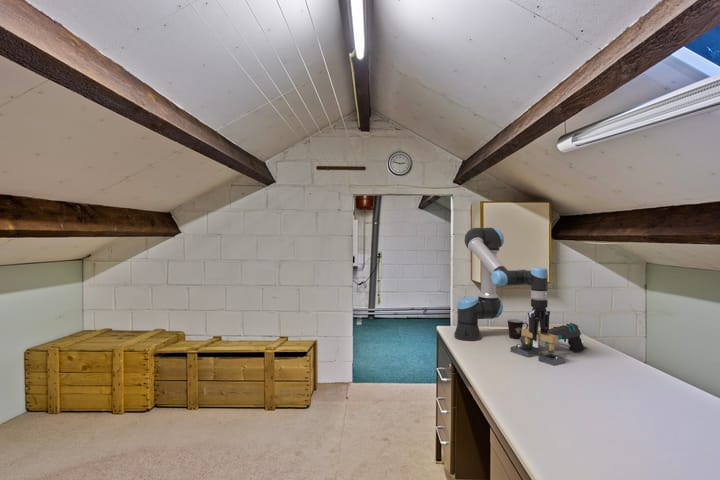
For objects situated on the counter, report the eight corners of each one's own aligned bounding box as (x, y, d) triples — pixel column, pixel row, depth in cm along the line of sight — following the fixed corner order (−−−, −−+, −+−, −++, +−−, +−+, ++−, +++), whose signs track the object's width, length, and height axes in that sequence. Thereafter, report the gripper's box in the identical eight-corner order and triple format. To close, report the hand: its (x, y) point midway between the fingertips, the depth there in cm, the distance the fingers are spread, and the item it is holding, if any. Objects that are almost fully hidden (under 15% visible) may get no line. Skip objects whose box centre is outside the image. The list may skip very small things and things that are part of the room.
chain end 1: (510, 351, 211) (510, 344, 211) (521, 349, 215) (521, 343, 215) (528, 357, 202) (528, 350, 201) (539, 355, 205) (539, 348, 205)
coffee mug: (507, 338, 237) (507, 321, 237) (507, 335, 245) (507, 318, 245) (529, 340, 233) (529, 323, 233) (527, 336, 242) (527, 320, 242)
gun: (586, 350, 209) (577, 322, 209) (530, 366, 212) (521, 338, 212) (581, 346, 216) (572, 319, 216) (526, 362, 218) (517, 335, 218)
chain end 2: (538, 360, 196) (538, 354, 196) (549, 358, 200) (549, 352, 200) (553, 365, 189) (553, 358, 189) (564, 363, 193) (564, 356, 193)
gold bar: (521, 344, 208) (521, 329, 207) (526, 343, 209) (526, 328, 209) (552, 353, 192) (552, 336, 192) (558, 352, 193) (558, 335, 193)
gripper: (533, 301, 193) (533, 350, 193) (557, 298, 201) (557, 346, 201) (520, 299, 200) (520, 346, 200) (544, 296, 208) (544, 342, 208)
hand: (538, 346), depth 201 cm, fingers closed on gold bar, 4 cm apart
